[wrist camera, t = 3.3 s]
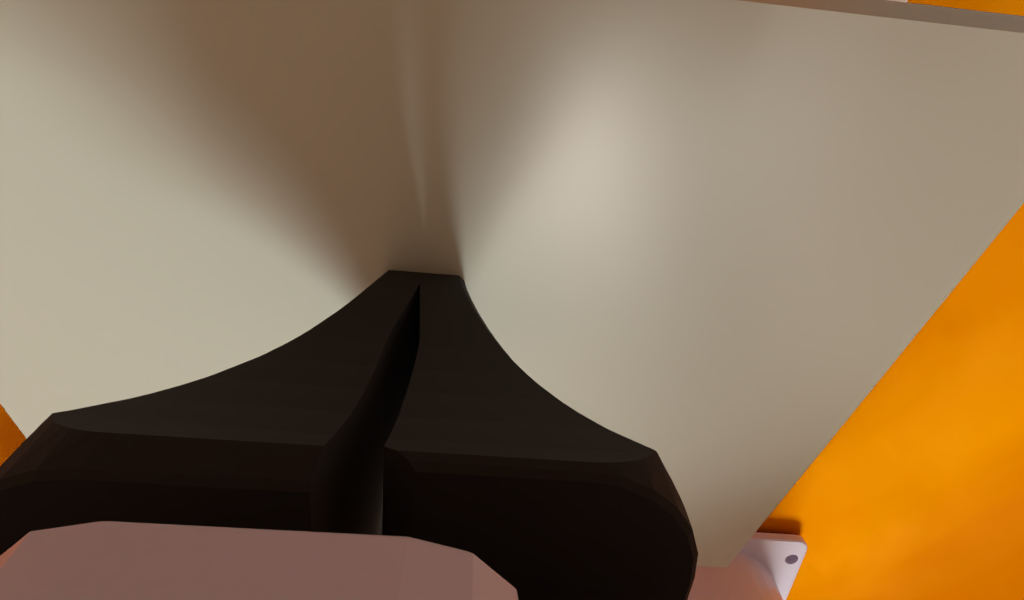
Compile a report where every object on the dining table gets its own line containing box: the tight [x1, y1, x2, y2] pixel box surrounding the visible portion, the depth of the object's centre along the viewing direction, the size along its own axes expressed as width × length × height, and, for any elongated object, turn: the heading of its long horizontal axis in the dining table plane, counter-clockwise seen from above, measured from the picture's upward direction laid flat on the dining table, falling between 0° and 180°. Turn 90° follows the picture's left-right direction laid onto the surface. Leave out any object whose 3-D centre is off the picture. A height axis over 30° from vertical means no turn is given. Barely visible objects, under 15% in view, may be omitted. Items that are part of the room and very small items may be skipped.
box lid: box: [0, 0, 1024, 568], centre depth 13 cm, size 17×18×1 cm
